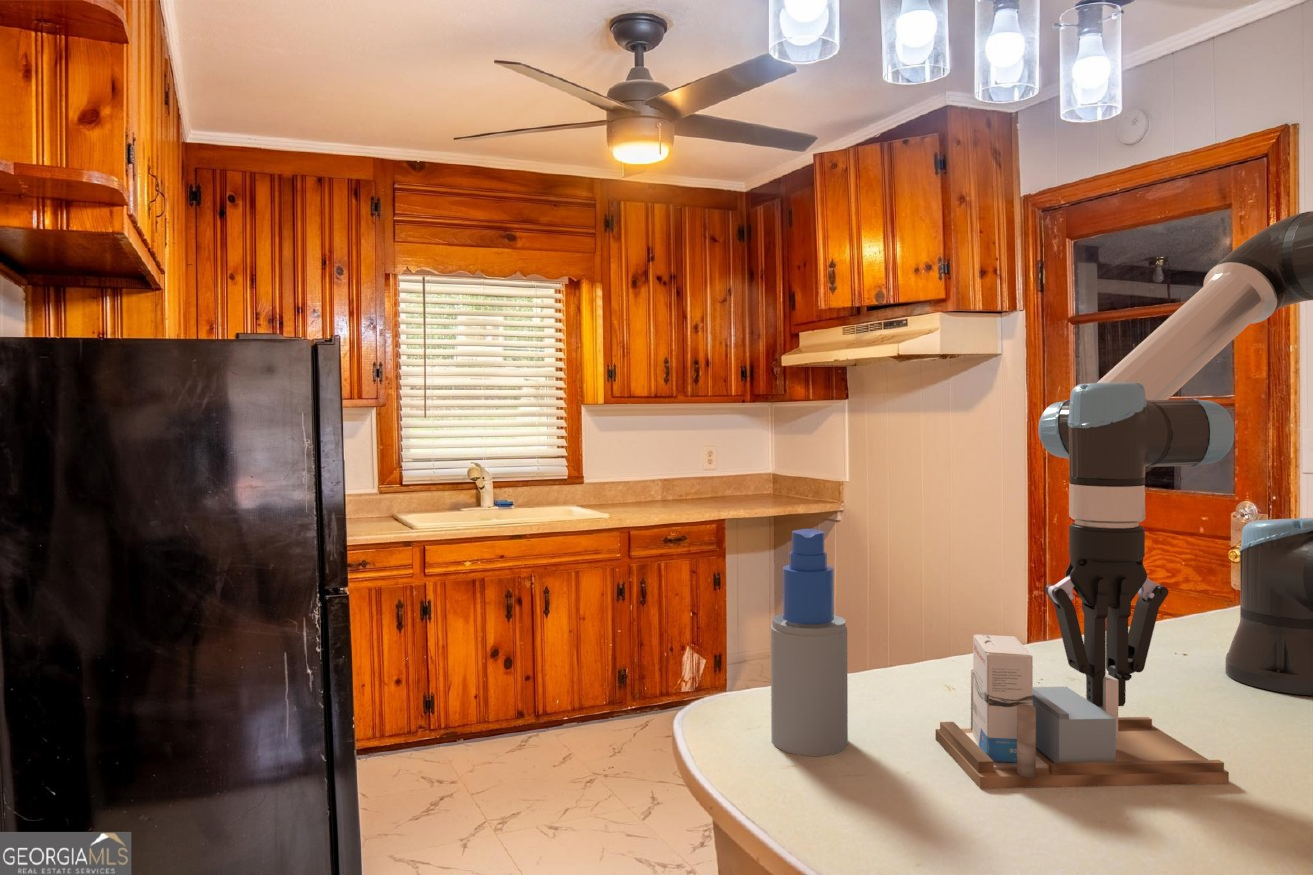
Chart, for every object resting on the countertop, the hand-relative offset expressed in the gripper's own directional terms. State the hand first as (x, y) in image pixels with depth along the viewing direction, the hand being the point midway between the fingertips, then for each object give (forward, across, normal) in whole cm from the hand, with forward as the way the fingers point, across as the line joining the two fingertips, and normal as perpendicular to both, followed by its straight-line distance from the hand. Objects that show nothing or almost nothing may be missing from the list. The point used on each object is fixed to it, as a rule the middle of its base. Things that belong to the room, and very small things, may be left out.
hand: (1105, 734), depth 101 cm
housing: (+1, +5, 0) cm, 5 cm away
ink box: (+2, +12, 0) cm, 12 cm away
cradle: (+3, +4, 0) cm, 5 cm away
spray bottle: (+3, +32, -7) cm, 33 cm away
